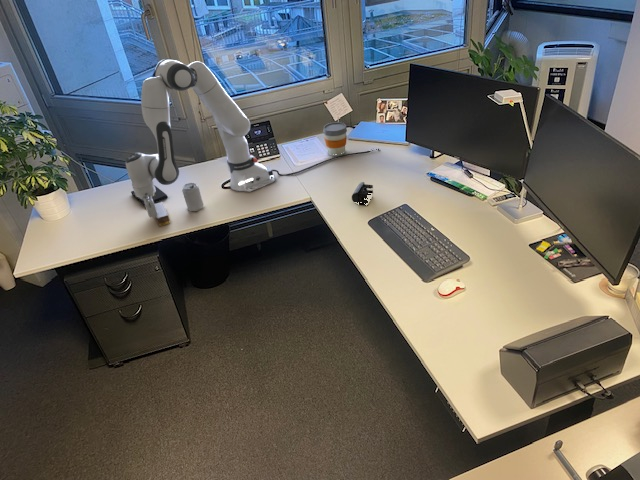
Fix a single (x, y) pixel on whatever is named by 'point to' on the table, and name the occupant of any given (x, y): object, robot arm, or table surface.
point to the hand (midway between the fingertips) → (153, 216)
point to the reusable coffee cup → (335, 138)
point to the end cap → (362, 193)
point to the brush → (161, 214)
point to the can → (192, 196)
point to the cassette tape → (157, 196)
